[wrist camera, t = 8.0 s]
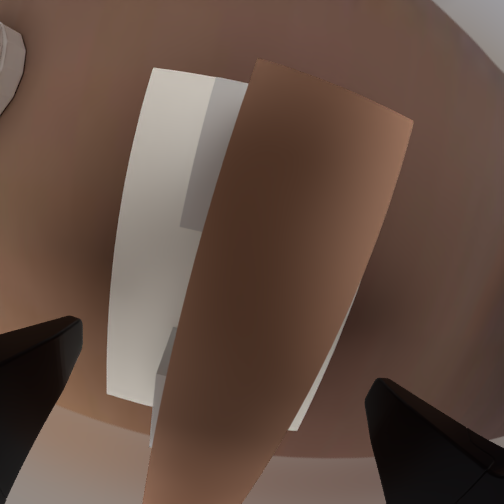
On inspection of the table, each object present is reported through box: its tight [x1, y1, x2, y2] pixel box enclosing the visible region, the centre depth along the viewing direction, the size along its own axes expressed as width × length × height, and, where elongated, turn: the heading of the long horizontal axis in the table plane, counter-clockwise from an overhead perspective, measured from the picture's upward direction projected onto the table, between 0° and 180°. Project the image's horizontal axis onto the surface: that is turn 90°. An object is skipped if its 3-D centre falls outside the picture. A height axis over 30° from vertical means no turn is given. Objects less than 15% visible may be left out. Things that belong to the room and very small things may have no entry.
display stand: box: [107, 68, 361, 447], centre depth 14 cm, size 12×18×5 cm, turn 166°
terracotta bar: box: [143, 58, 414, 504], centre depth 9 cm, size 4×15×4 cm, turn 163°
